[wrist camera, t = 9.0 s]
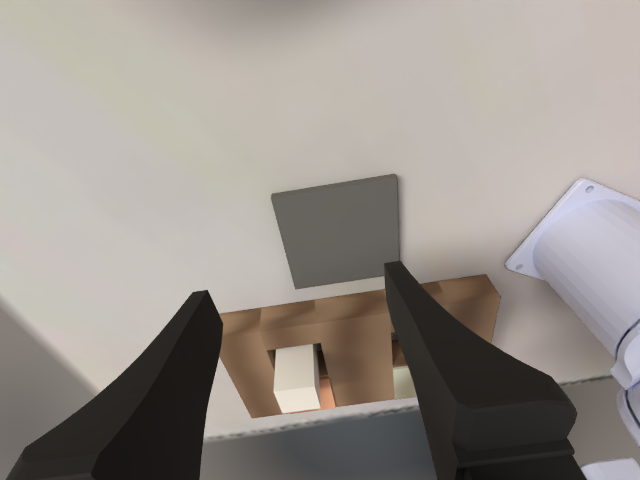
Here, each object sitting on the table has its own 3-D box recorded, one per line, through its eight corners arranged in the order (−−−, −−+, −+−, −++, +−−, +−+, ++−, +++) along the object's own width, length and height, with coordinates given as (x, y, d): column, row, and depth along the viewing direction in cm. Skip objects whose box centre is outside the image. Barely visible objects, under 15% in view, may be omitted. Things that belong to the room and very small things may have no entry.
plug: (311, 322, 30) (314, 386, 25) (317, 344, 31) (320, 408, 26) (277, 327, 30) (273, 392, 25) (284, 348, 32) (282, 413, 27)
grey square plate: (394, 173, 22) (396, 177, 22) (397, 268, 27) (399, 273, 26) (271, 193, 22) (271, 198, 22) (295, 284, 27) (295, 289, 26)
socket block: (485, 274, 27) (502, 298, 25) (470, 364, 34) (482, 389, 32) (216, 314, 28) (209, 341, 26) (254, 394, 35) (251, 420, 33)
